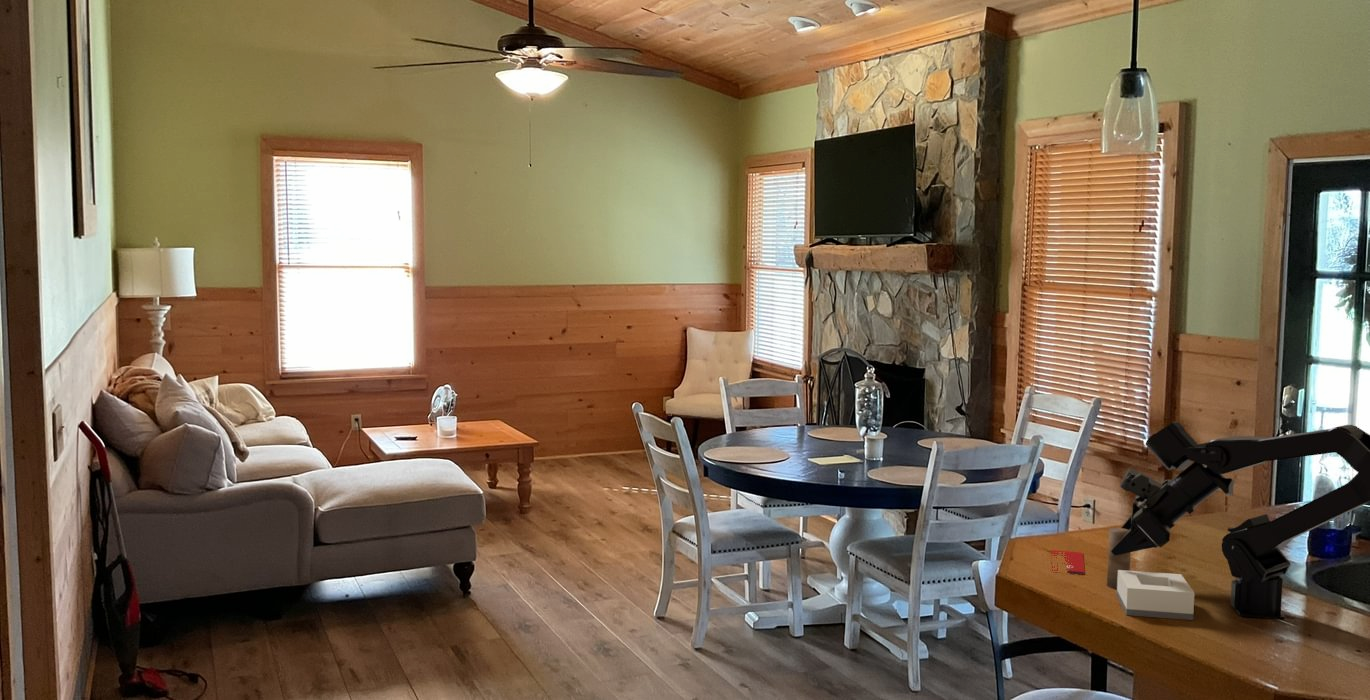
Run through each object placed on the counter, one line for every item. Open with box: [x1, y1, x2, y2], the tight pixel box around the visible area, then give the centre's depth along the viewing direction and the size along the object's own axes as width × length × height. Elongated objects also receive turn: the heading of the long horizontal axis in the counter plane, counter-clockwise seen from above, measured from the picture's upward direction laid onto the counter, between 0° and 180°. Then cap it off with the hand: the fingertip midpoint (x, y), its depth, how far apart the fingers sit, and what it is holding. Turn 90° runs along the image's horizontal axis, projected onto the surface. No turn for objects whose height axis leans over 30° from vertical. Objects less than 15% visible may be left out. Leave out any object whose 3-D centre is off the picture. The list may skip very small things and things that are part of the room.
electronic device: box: [1051, 549, 1086, 576], centre depth 203 cm, size 6×1×15 cm
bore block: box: [1116, 570, 1195, 621], centre depth 177 cm, size 10×10×4 cm
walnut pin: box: [1106, 527, 1131, 590], centre depth 188 cm, size 4×4×10 cm
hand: (1113, 546), depth 188 cm, fingers open, 9 cm apart
